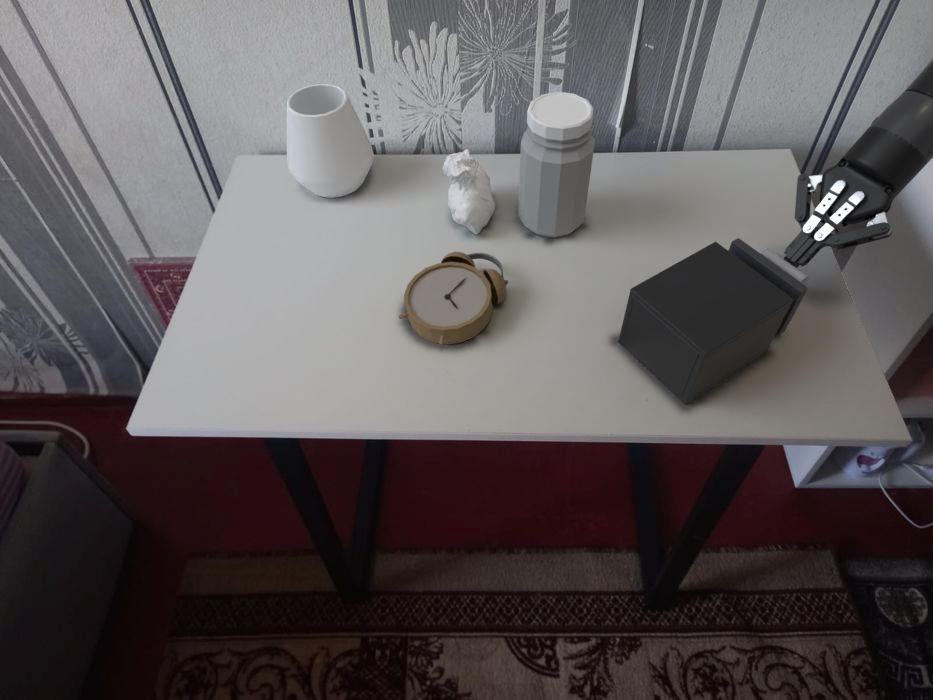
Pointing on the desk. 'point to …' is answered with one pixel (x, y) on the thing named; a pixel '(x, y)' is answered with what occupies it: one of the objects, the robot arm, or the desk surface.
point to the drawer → (774, 274)
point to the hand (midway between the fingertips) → (789, 263)
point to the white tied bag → (468, 191)
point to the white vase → (326, 141)
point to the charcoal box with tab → (702, 320)
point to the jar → (555, 164)
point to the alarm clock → (453, 298)
